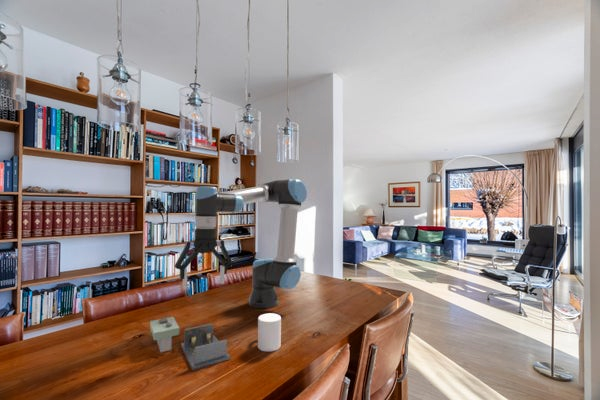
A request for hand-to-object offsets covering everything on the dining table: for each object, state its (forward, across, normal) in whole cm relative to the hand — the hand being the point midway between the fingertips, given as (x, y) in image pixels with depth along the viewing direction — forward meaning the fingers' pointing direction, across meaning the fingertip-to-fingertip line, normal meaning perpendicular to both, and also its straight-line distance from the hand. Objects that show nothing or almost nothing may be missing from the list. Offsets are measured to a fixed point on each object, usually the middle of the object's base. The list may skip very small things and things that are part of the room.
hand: (203, 285), depth 104 cm
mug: (+21, +20, -14) cm, 32 cm away
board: (+16, -12, +6) cm, 21 cm away
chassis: (+21, -1, -7) cm, 22 cm away
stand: (+21, -12, +6) cm, 25 cm away
